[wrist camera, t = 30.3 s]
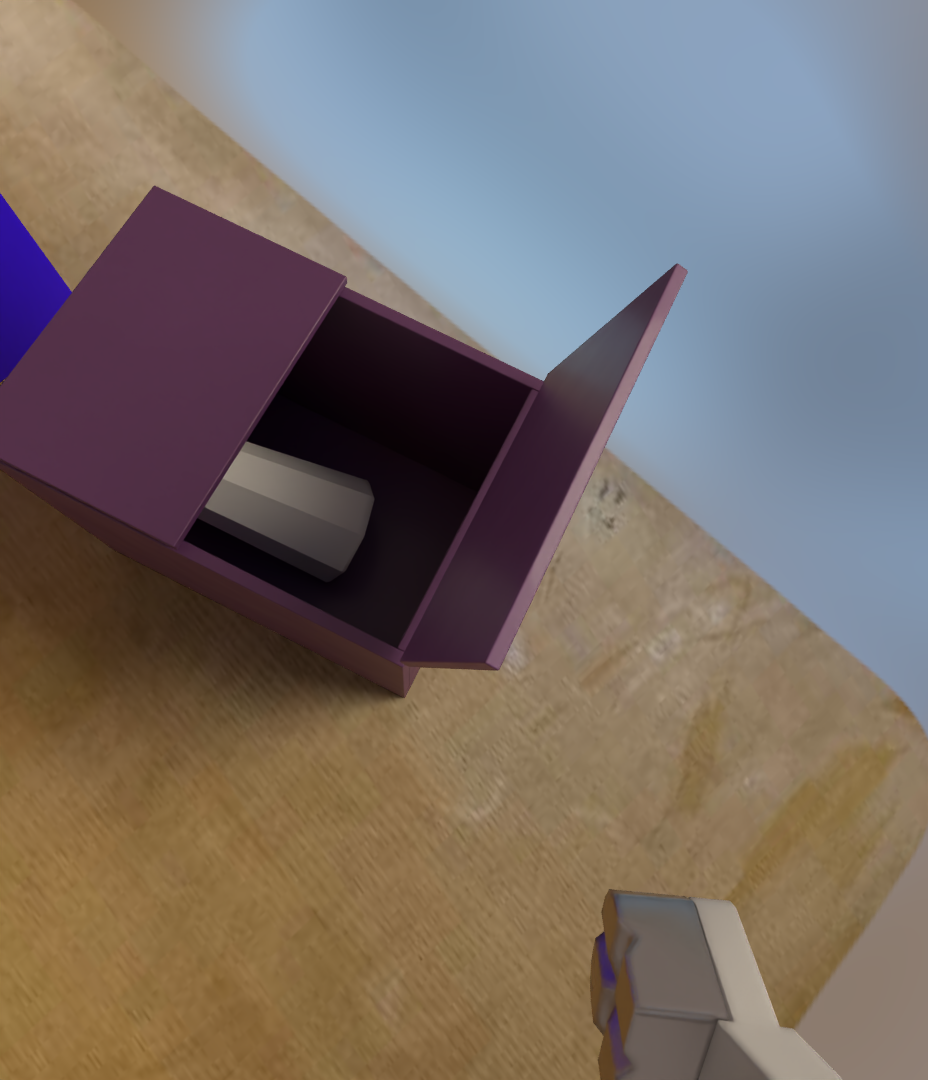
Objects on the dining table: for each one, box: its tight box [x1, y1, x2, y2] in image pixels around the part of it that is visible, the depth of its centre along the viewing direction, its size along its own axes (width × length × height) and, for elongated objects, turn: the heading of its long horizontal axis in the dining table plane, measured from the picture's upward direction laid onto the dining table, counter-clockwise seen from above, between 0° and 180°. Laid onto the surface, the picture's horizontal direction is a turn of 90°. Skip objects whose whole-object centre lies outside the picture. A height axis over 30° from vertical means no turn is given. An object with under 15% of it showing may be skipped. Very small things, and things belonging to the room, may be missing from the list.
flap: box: [400, 264, 688, 670], centre depth 22 cm, size 8×12×1 cm
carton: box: [0, 186, 544, 698], centre depth 34 cm, size 17×12×14 cm
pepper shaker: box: [198, 442, 374, 582], centre depth 35 cm, size 5×5×11 cm
